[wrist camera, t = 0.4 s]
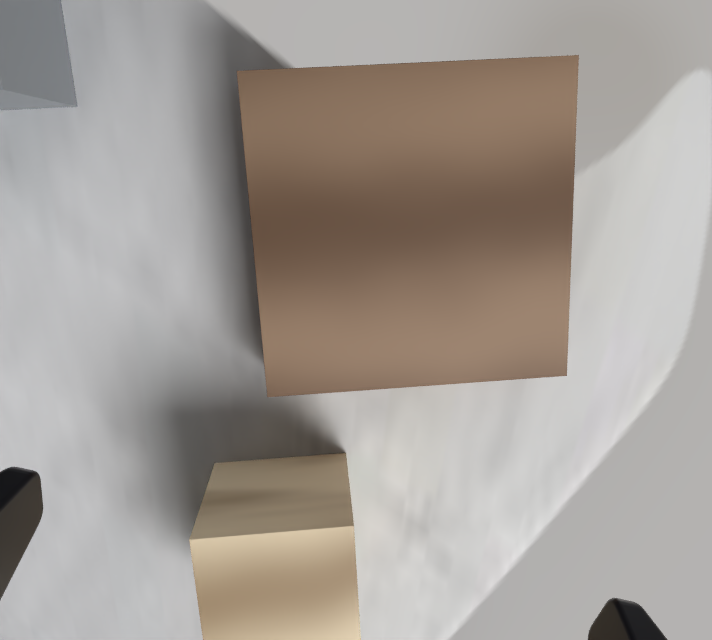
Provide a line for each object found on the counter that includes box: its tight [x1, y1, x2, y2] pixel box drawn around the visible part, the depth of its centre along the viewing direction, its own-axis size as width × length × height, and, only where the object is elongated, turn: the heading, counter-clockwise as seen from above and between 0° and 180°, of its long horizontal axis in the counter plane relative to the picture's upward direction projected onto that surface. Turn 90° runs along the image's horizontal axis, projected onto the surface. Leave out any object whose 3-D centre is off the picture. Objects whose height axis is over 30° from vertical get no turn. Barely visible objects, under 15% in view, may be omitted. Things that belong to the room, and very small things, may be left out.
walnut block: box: [237, 55, 579, 397], centre depth 21 cm, size 10×10×3 cm
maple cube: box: [189, 453, 361, 640], centre depth 22 cm, size 5×5×5 cm
